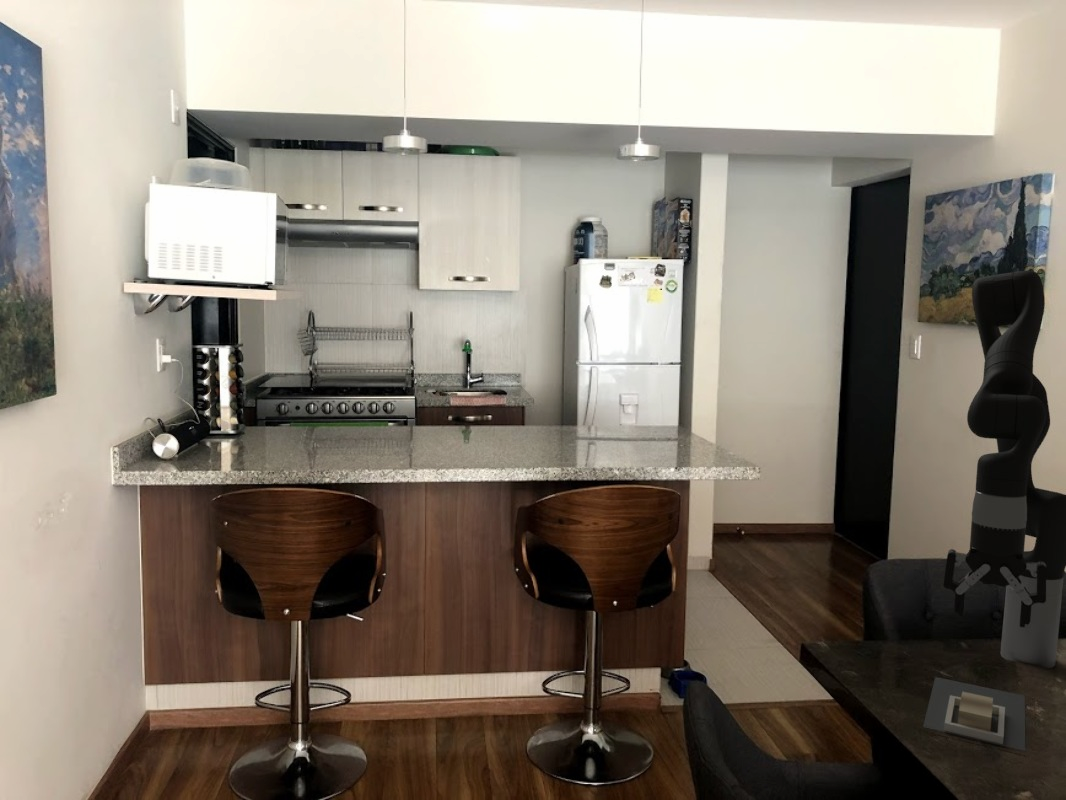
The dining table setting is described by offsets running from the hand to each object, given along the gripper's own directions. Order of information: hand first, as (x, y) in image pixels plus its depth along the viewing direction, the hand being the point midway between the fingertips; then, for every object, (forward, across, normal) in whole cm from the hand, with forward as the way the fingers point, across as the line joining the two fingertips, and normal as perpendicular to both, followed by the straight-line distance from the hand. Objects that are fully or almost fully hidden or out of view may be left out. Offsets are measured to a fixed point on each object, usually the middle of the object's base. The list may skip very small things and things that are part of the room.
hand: (991, 620), depth 138 cm
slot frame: (+17, -1, -2) cm, 17 cm away
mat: (+17, -1, +2) cm, 17 cm away
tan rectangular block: (+16, -1, -2) cm, 16 cm away
